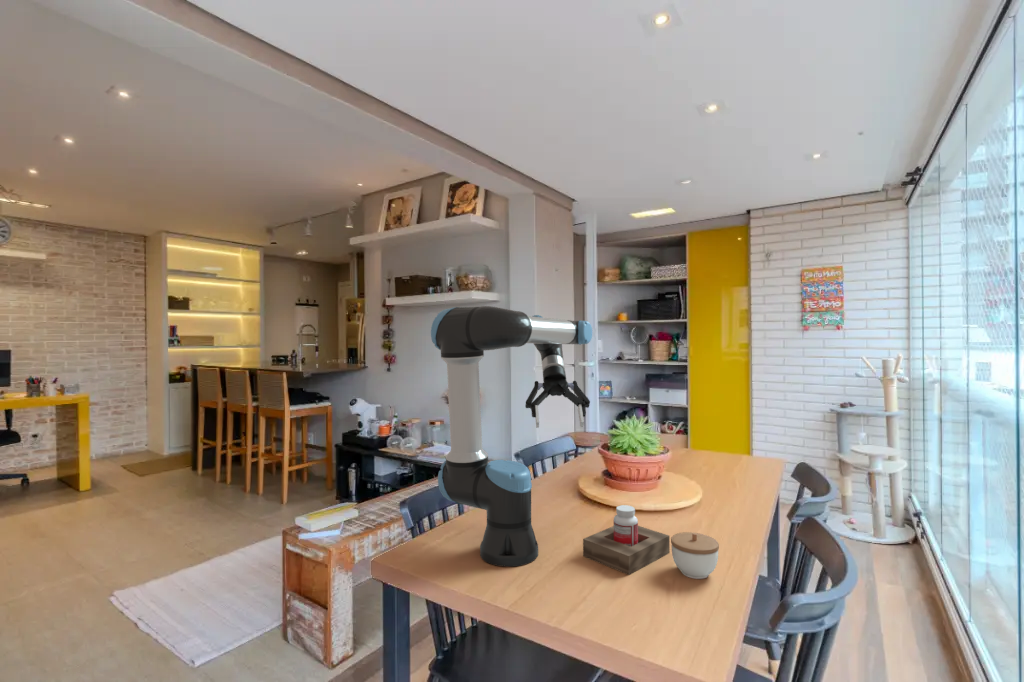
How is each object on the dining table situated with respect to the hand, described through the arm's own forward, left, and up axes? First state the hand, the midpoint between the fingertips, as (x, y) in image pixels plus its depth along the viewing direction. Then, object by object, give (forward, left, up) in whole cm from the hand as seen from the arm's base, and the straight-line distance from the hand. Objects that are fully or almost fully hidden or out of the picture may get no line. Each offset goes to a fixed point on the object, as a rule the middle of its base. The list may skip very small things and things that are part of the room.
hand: (560, 424), depth 154 cm
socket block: (-4, -27, -30) cm, 40 cm away
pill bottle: (-5, -27, -29) cm, 40 cm away
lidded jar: (-1, -44, -30) cm, 53 cm away
